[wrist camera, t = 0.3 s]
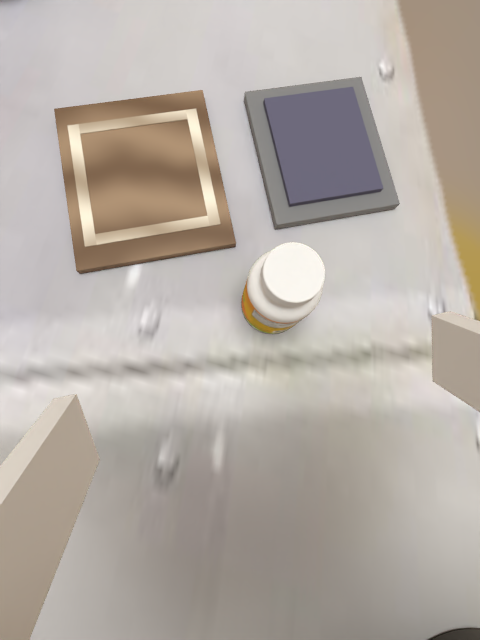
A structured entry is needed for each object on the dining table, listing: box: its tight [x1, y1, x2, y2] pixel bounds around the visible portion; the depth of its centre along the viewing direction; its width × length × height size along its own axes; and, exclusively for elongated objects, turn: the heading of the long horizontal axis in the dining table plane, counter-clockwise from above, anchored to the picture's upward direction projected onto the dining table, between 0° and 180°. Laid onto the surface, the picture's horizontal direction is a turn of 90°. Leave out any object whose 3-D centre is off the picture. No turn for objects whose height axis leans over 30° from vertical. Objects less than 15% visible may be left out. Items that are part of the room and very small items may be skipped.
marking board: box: [54, 90, 236, 274], centre depth 32 cm, size 16×14×1 cm
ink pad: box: [244, 77, 400, 229], centre depth 33 cm, size 14×12×2 cm
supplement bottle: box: [241, 242, 325, 334], centre depth 26 cm, size 5×5×10 cm
